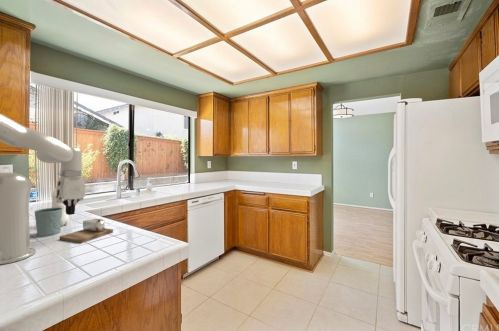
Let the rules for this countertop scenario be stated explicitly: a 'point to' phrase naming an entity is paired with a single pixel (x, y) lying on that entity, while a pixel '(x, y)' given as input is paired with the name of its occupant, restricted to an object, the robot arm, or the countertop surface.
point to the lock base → (85, 235)
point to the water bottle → (60, 205)
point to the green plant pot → (48, 221)
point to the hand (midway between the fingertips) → (70, 214)
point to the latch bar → (94, 225)
